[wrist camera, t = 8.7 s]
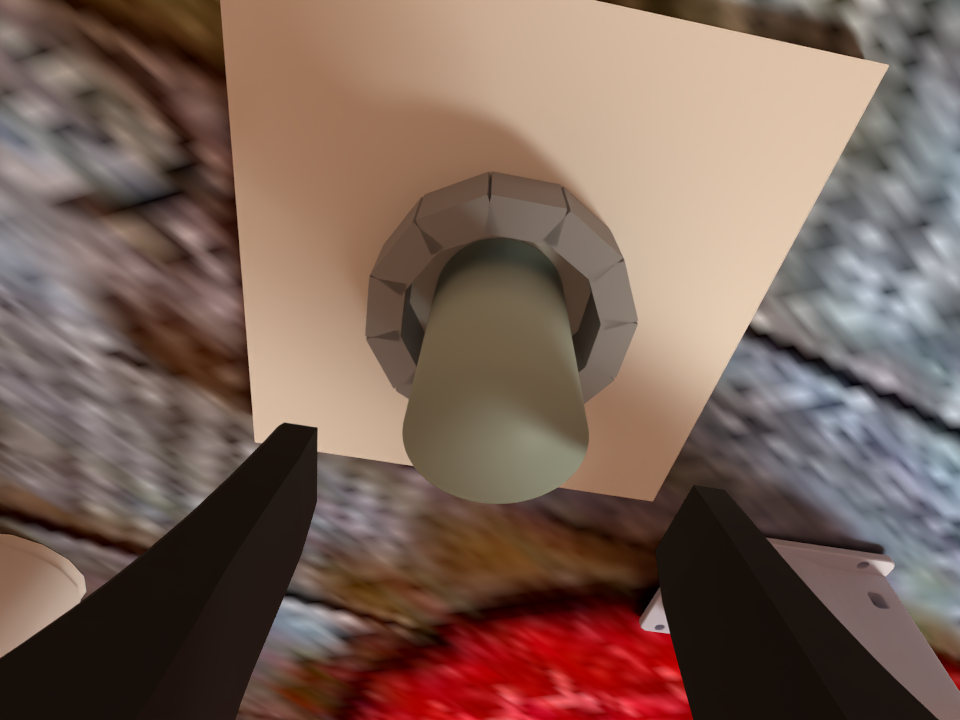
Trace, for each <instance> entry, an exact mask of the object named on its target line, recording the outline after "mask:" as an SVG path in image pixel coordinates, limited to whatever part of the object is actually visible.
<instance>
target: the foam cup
mask: <svg viewBox="0 0 960 720" xmlns="http://www.w3.org/2000/svg"><path fill="white" fill-rule="evenodd" d="M85 592H86V586H85V580H84V576H83V575H82V574H81V573H80V572H79V571H78V569H77V568H76V567H75V566H74V565H73V564H72V563H71V562H70V561H69V560H68V559H66V558H65V557H63V556H61V555H60V554H58V553H56V552H54V551H53V550H51V549H49V548H48V547H46V546H44V545H42V544H39V543H36V542H33V541H30V540H27V539H23V538H20V537H17V536H14V535H9V534H0V658H1V657H2V656H4V655H5V654H7V653H8V652H10V651H11V650H13V649H14V648H16V647H17V646H19V645H20V644H22V643H23V642H25V641H26V640H27V639H29V638H30V637H32V636H33V635H35V634H36V633H37V632H39V631H40V630H42V629H43V628H45V627H46V626H47V625H49V624H50V623H52V622H53V621H55V620H56V619H57V618H59V617H60V616H62V615H63V614H65V613H66V612H67V611H69V610H70V609H72V608H73V607H74V606H76V605H77V604H79V603H80V600H81V598H82V597H83V595H84V594H85Z"/></svg>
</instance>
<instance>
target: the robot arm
mask: <svg viewBox="0 0 960 720" xmlns="http://www.w3.org/2000/svg"><path fill="white" fill-rule="evenodd" d="M317 439H318V428H317V427H311V426H304V425H298V424H291V423H285V422H284V423H282V424H281V425H279V426H278V427H277V428H276V429H275V430H274V431H273V432H272V433H271V434H270V435H269V436H268V438H267V439H266V440H265V441H264V442H263V443H262V444H261V445H260V446H259V447H258V448H257V449H256V450H255V451H254V452H253V453H252V454H251V455H250V456H249V457H248V458H247V459H246V460H245V461H244V462H243V463H242V464H241V465H240V466H239V467H238V468H237V469H236V470H235V471H234V472H233V473H232V474H231V475H230V476H229V477H228V478H227V479H226V480H225V481H224V482H223V483H222V484H221V485H220V486H219V487H218V488H217V489H216V490H215V491H214V492H212V493H211V494H210V495H209V496H208V497H207V498H206V499H205V500H204V501H203V502H202V503H201V504H200V505H199V506H198V507H197V508H195V509H194V510H193V511H192V512H191V513H190V514H189V515H188V516H187V517H185V518H184V519H183V520H182V521H181V522H180V523H178V524H177V525H176V526H175V527H174V528H173V529H171V530H170V531H169V532H168V533H167V534H166V535H164V536H163V537H162V538H161V539H160V540H159V541H157V542H156V543H155V544H154V545H153V546H152V547H150V548H149V549H148V550H147V551H146V552H144V553H143V554H142V555H141V556H140V557H138V558H137V559H136V560H135V561H133V562H132V563H131V564H130V565H128V566H127V567H126V568H125V569H123V570H122V571H121V572H120V573H118V574H117V575H116V576H114V577H113V578H112V579H111V580H109V581H108V582H107V583H105V584H104V585H103V586H101V587H100V588H99V589H97V590H96V591H95V592H93V593H92V594H91V595H89V596H88V597H87V598H85V599H84V600H83V601H81V602H80V603H79V604H77V605H76V606H74V607H73V608H72V609H70V610H69V611H67V612H66V613H65V614H63V615H62V616H60V617H59V618H57V619H56V620H55V621H53V622H52V623H50V624H49V625H47V626H46V627H45V628H43V629H42V630H40V631H39V632H37V633H36V634H35V635H33V636H32V637H30V638H29V639H27V640H26V641H25V642H23V643H22V644H20V645H19V646H17V647H16V648H14V649H13V650H11V651H10V652H8V653H7V654H5V655H4V656H2V657H1V658H0V720H235V719H236V716H237V713H238V710H239V707H240V704H241V701H242V698H243V695H244V693H245V690H246V687H247V685H248V682H249V679H250V677H251V674H252V672H253V669H254V667H255V665H256V662H257V660H258V657H259V655H260V653H261V650H262V648H263V645H264V643H265V641H266V638H267V636H268V634H269V631H270V629H271V626H272V624H273V622H274V619H275V617H276V614H277V612H278V610H279V607H280V605H281V602H282V600H283V598H284V595H285V593H286V590H287V588H288V586H289V583H290V581H291V578H292V576H293V573H294V571H295V569H296V566H297V564H298V561H299V559H300V556H301V554H302V551H303V547H304V544H305V541H306V537H307V534H308V531H309V527H310V524H311V520H312V517H313V513H314V510H315V506H316V503H317ZM655 552H656V560H657V569H658V577H659V584H660V588H659V589H658V591H657V592H656V594H655V595H654V597H653V599H652V600H651V602H650V603H649V605H648V606H647V608H646V610H645V611H644V613H643V614H642V616H641V617H640V620H639V622H640V626H641V628H642V629H644V630H647V631H654V632H661V633H669V634H670V635H671V638H672V642H673V646H674V650H675V654H676V657H677V661H678V665H679V668H680V672H681V676H682V679H683V683H684V687H685V691H686V694H687V698H688V702H689V705H690V709H691V713H692V716H693V720H960V692H959V690H958V689H957V687H956V685H955V684H954V682H953V681H952V679H951V678H950V676H949V675H948V673H947V672H946V670H945V669H944V667H943V665H942V664H941V662H940V661H939V659H938V658H937V656H936V655H935V653H934V652H933V650H932V649H931V647H930V645H929V644H928V642H927V641H926V639H925V638H924V636H923V635H922V633H921V632H920V630H919V629H918V627H917V625H916V624H915V622H914V621H913V619H912V618H911V616H910V615H909V613H908V612H907V610H906V609H905V607H904V605H903V604H902V602H901V601H900V599H899V598H898V596H897V595H896V593H895V592H894V590H893V589H892V587H891V586H890V584H889V582H888V581H887V579H886V578H885V576H886V575H887V574H888V573H889V572H891V571H892V570H893V568H894V566H895V564H894V562H893V561H892V559H891V558H890V557H889V556H887V555H882V554H875V553H868V552H861V551H855V550H848V549H841V548H834V547H827V546H820V545H814V544H807V543H800V542H793V541H786V540H779V539H773V538H766V537H765V536H764V535H763V534H762V533H761V531H760V530H759V529H758V528H757V527H756V526H755V524H754V523H753V522H752V521H751V520H750V519H749V517H748V516H747V515H746V514H745V513H744V512H743V511H742V509H741V508H740V507H739V506H738V505H737V504H736V503H735V501H734V500H733V499H732V498H731V497H730V496H729V495H728V494H727V493H726V492H725V491H724V490H721V489H715V488H708V487H702V486H695V485H694V486H693V487H692V489H691V491H690V492H689V494H688V496H687V497H686V499H685V501H684V503H683V504H682V506H681V508H680V509H679V511H678V513H677V514H676V516H675V518H674V520H673V521H672V523H671V525H670V526H669V528H668V530H667V531H666V533H665V535H664V537H663V538H662V540H661V542H660V543H659V545H658V547H657V548H656V550H655Z"/></svg>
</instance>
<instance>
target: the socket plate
mask: <svg viewBox="0 0 960 720" xmlns="http://www.w3.org/2000/svg"><path fill="white" fill-rule="evenodd" d="M220 5H221V18H222V30H223V43H224V56H225V68H226V81H227V94H228V106H229V119H230V132H231V145H232V157H233V170H234V183H235V195H236V208H237V221H238V233H239V246H240V259H241V272H242V284H243V297H244V310H245V322H246V335H247V348H248V360H249V373H250V386H251V398H252V411H253V424H254V437H255V442H257V443H263V442H264V441H265V440H266V439H267V438H268V436H269V435H270V434H271V433H272V432H273V431H274V430H275V429H276V428H277V427H278V426H279V425H281V424H282V423H284V422H285V423H291V424H298V425H304V426H311V427H317V428H318V439H317V452H324V453H331V454H337V455H344V456H351V457H358V458H364V459H371V460H378V461H384V462H391V463H398V464H405V465H411V466H413V464H412V463H411V461H410V460H409V458H408V455H407V453H406V451H405V448H404V443H403V436H402V429H403V421H404V417H405V413H406V409H407V405H408V401H409V397H410V393H411V388H412V384H413V380H414V376H415V372H416V368H417V364H418V360H419V356H420V351H421V347H422V343H423V339H424V335H425V331H426V327H427V323H428V319H429V314H430V310H431V306H432V302H433V298H434V294H435V290H436V286H437V282H438V278H439V276H440V273H441V271H442V269H443V268H444V266H445V265H446V263H447V262H448V261H449V260H450V258H451V257H452V256H454V255H455V254H456V253H457V252H458V251H460V250H461V249H463V248H464V247H466V246H468V245H470V244H472V243H475V242H478V241H481V240H485V239H491V238H508V239H514V240H518V241H521V242H524V243H527V244H529V245H531V246H533V247H535V248H536V249H538V250H540V251H541V252H542V253H543V254H544V255H546V256H547V257H548V259H549V260H550V261H551V262H552V263H553V265H554V266H555V268H556V269H557V271H558V273H559V275H560V278H561V281H562V285H563V291H564V296H565V302H566V307H567V313H568V318H569V324H570V330H571V335H572V341H573V346H574V352H575V357H576V363H577V368H578V374H579V379H580V385H581V390H582V396H583V401H584V407H585V412H586V418H587V423H588V429H589V443H588V448H587V452H586V455H585V457H584V460H583V461H582V463H581V465H580V467H579V468H578V469H577V470H576V472H575V473H574V474H573V475H572V476H571V477H570V478H569V479H568V480H567V481H566V482H564V483H563V484H562V485H560V486H559V488H565V489H572V490H579V491H586V492H592V493H599V494H606V495H612V496H619V497H626V498H633V499H639V500H646V501H654V499H655V497H656V495H657V493H658V491H659V489H660V488H661V486H662V484H663V482H664V480H665V478H666V477H667V475H668V473H669V471H670V469H671V467H672V465H673V464H674V462H675V460H676V458H677V456H678V454H679V453H680V451H681V449H682V447H683V445H684V443H685V441H686V440H687V438H688V436H689V434H690V432H691V430H692V429H693V427H694V425H695V423H696V421H697V419H698V417H699V416H700V414H701V412H702V410H703V408H704V406H705V405H706V403H707V401H708V399H709V397H710V395H711V393H712V392H713V390H714V388H715V386H716V384H717V382H718V380H719V379H720V377H721V375H722V373H723V371H724V369H725V368H726V366H727V364H728V362H729V360H730V358H731V356H732V355H733V353H734V351H735V349H736V347H737V345H738V344H739V342H740V340H741V338H742V336H743V334H744V332H745V331H746V329H747V327H748V325H749V323H750V321H751V320H752V318H753V316H754V314H755V312H756V310H757V308H758V307H759V305H760V303H761V301H762V299H763V297H764V296H765V294H766V292H767V290H768V288H769V286H770V284H771V283H772V281H773V279H774V277H775V275H776V273H777V272H778V270H779V268H780V266H781V264H782V262H783V260H784V259H785V257H786V255H787V253H788V251H789V249H790V247H791V246H792V244H793V242H794V240H795V238H796V236H797V235H798V233H799V231H800V229H801V227H802V225H803V223H804V222H805V220H806V218H807V216H808V214H809V212H810V211H811V209H812V207H813V205H814V203H815V201H816V199H817V198H818V196H819V194H820V192H821V190H822V188H823V187H824V185H825V183H826V181H827V179H828V177H829V175H830V174H831V172H832V170H833V168H834V166H835V164H836V163H837V161H838V159H839V157H840V155H841V153H842V151H843V150H844V148H845V146H846V144H847V142H848V140H849V139H850V137H851V135H852V133H853V131H854V129H855V127H856V126H857V124H858V122H859V120H860V118H861V116H862V115H863V113H864V111H865V109H866V107H867V105H868V103H869V102H870V100H871V98H872V96H873V94H874V92H875V90H876V89H877V87H878V85H879V83H880V81H881V79H882V78H883V76H884V74H885V72H886V70H887V68H888V66H889V65H886V64H882V63H877V62H873V61H868V60H864V59H859V58H855V57H850V56H846V55H841V54H836V53H832V52H827V51H823V50H818V49H814V48H809V47H805V46H800V45H796V44H791V43H787V42H782V41H778V40H773V39H768V38H764V37H759V36H755V35H750V34H746V33H741V32H737V31H732V30H728V29H723V28H719V27H714V26H709V25H705V24H700V23H696V22H691V21H687V20H682V19H678V18H673V17H669V16H664V15H660V14H655V13H651V12H646V11H641V10H637V9H632V8H628V7H623V6H619V5H614V4H610V3H605V2H601V1H596V0H220Z"/></svg>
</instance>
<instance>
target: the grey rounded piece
mask: <svg viewBox="0 0 960 720" xmlns="http://www.w3.org/2000/svg"><path fill="white" fill-rule="evenodd" d="M402 436H403V443H404V448H405V451H406V453H407V455H408V458H409V460H410V461H411V463H412V464H413V466H414V467H415V468H416V470H417V471H418V472H419V473H420V474H421V475H422V476H423V477H424V478H425V479H426V480H427V481H429V482H430V483H431V484H433V485H434V486H436V487H437V488H439V489H441V490H442V491H444V492H446V493H449V494H451V495H453V496H456V497H459V498H462V499H465V500H469V501H474V502H480V503H489V504H508V503H516V502H522V501H526V500H530V499H533V498H537V497H540V496H542V495H544V494H546V493H549V492H551V491H552V490H554V489H556V488H558V487H559V486H560V485H562V484H563V483H564V482H566V481H567V480H568V479H569V478H570V477H571V476H572V475H573V474H574V473H575V472H576V470H577V469H578V468H579V467H580V465H581V463H582V461H583V460H584V457H585V455H586V452H587V448H588V443H589V429H588V423H587V418H586V412H585V407H584V401H583V396H582V390H581V385H580V379H579V374H578V368H577V363H576V357H575V352H574V346H573V341H572V335H571V330H570V324H569V318H568V313H567V307H566V302H565V296H564V291H563V285H562V281H561V278H560V275H559V273H558V271H557V269H556V268H555V266H554V265H553V263H552V262H551V261H550V260H549V259H548V257H547V256H546V255H544V254H543V253H542V252H541V251H540V250H538V249H536V248H535V247H533V246H531V245H529V244H527V243H524V242H521V241H518V240H514V239H508V238H491V239H485V240H481V241H478V242H475V243H472V244H470V245H468V246H466V247H464V248H463V249H461V250H460V251H458V252H457V253H456V254H455V255H454V256H452V257H451V258H450V260H449V261H448V262H447V263H446V265H445V266H444V268H443V269H442V271H441V273H440V276H439V278H438V282H437V286H436V290H435V294H434V298H433V302H432V306H431V310H430V314H429V319H428V323H427V327H426V331H425V335H424V339H423V343H422V347H421V351H420V356H419V360H418V364H417V368H416V372H415V376H414V380H413V384H412V388H411V393H410V397H409V401H408V405H407V409H406V413H405V417H404V421H403V429H402Z"/></svg>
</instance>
